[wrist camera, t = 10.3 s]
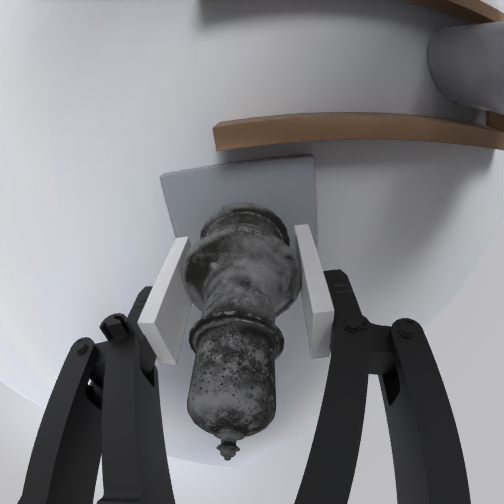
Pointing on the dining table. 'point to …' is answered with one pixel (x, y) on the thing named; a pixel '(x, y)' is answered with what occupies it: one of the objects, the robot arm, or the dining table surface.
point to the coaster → (243, 193)
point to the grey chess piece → (238, 319)
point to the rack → (372, 124)
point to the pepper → (470, 64)
